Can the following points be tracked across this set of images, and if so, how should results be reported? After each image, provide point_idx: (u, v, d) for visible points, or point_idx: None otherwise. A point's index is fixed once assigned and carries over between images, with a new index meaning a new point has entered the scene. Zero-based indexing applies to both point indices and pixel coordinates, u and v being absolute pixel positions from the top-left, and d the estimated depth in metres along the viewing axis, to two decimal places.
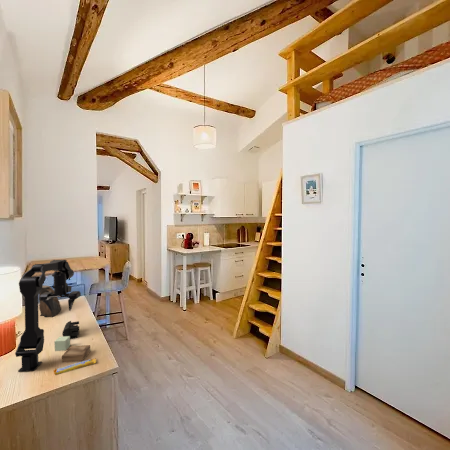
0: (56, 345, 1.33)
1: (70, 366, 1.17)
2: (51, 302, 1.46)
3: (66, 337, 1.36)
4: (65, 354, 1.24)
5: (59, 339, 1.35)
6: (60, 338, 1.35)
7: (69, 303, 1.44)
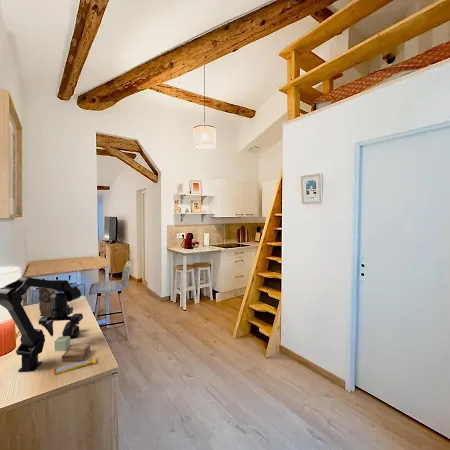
0: (56, 345, 1.33)
1: (70, 366, 1.17)
2: (51, 326, 1.34)
3: (66, 337, 1.36)
4: (65, 354, 1.24)
5: (59, 339, 1.35)
6: (60, 338, 1.35)
7: (70, 327, 1.33)
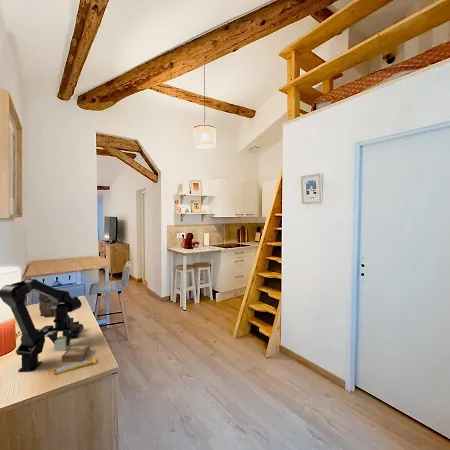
0: (56, 345, 1.33)
1: (70, 366, 1.17)
2: (56, 336, 1.35)
3: None
4: (65, 354, 1.24)
5: (59, 338, 1.35)
6: (60, 338, 1.35)
7: (67, 338, 1.33)
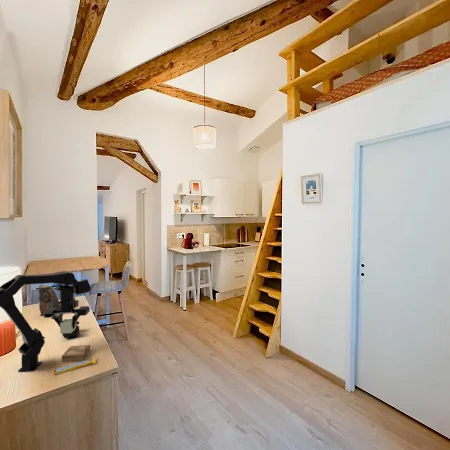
0: (62, 327, 1.29)
1: (70, 366, 1.17)
2: (61, 319, 1.31)
3: None
4: (65, 354, 1.24)
5: (64, 321, 1.31)
6: (65, 320, 1.31)
7: (73, 320, 1.29)
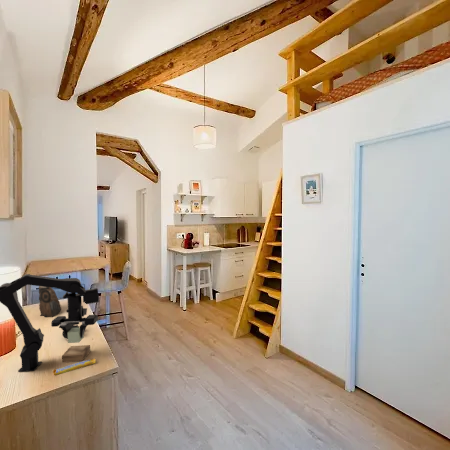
0: (69, 336, 1.24)
1: (69, 366, 1.17)
2: (69, 328, 1.27)
3: (79, 328, 1.28)
4: (65, 354, 1.24)
5: (72, 330, 1.26)
6: (73, 329, 1.27)
7: (81, 330, 1.25)
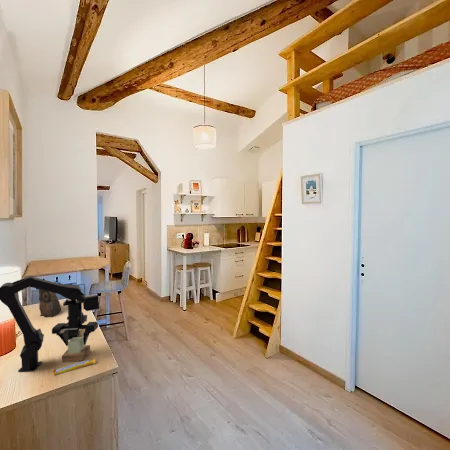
0: (70, 346, 1.25)
1: (69, 366, 1.17)
2: (66, 335, 1.27)
3: (80, 338, 1.29)
4: (65, 354, 1.24)
5: (72, 340, 1.27)
6: (74, 339, 1.28)
7: (84, 337, 1.25)
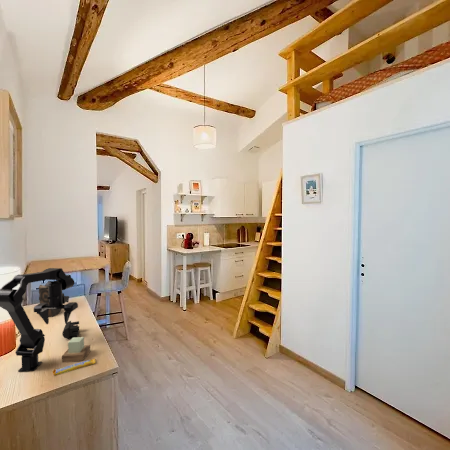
0: (70, 346, 1.25)
1: (69, 367, 1.17)
2: (46, 314, 1.34)
3: (80, 338, 1.29)
4: (65, 354, 1.24)
5: (72, 340, 1.27)
6: (74, 339, 1.28)
7: (65, 316, 1.32)
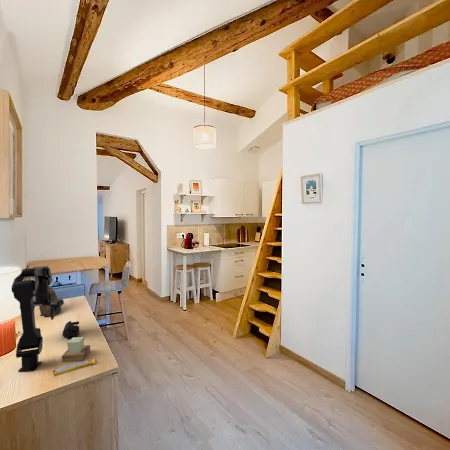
0: (70, 346, 1.25)
1: (69, 367, 1.17)
2: None
3: (80, 338, 1.29)
4: (65, 354, 1.24)
5: (72, 340, 1.27)
6: (74, 339, 1.28)
7: (51, 312, 1.38)
